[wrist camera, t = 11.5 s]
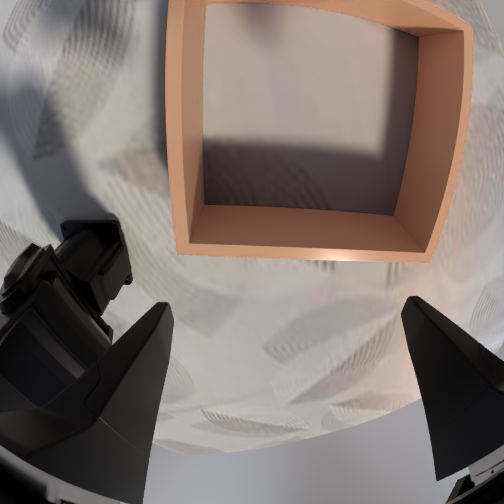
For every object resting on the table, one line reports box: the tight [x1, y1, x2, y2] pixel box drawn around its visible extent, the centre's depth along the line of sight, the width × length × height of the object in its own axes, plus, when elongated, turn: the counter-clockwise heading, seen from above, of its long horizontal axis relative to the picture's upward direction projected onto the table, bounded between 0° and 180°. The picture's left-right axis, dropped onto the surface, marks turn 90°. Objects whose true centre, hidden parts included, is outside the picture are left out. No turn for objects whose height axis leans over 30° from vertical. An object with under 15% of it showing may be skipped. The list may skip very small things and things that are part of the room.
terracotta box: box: [165, 0, 473, 263], centre depth 14 cm, size 17×17×6 cm
